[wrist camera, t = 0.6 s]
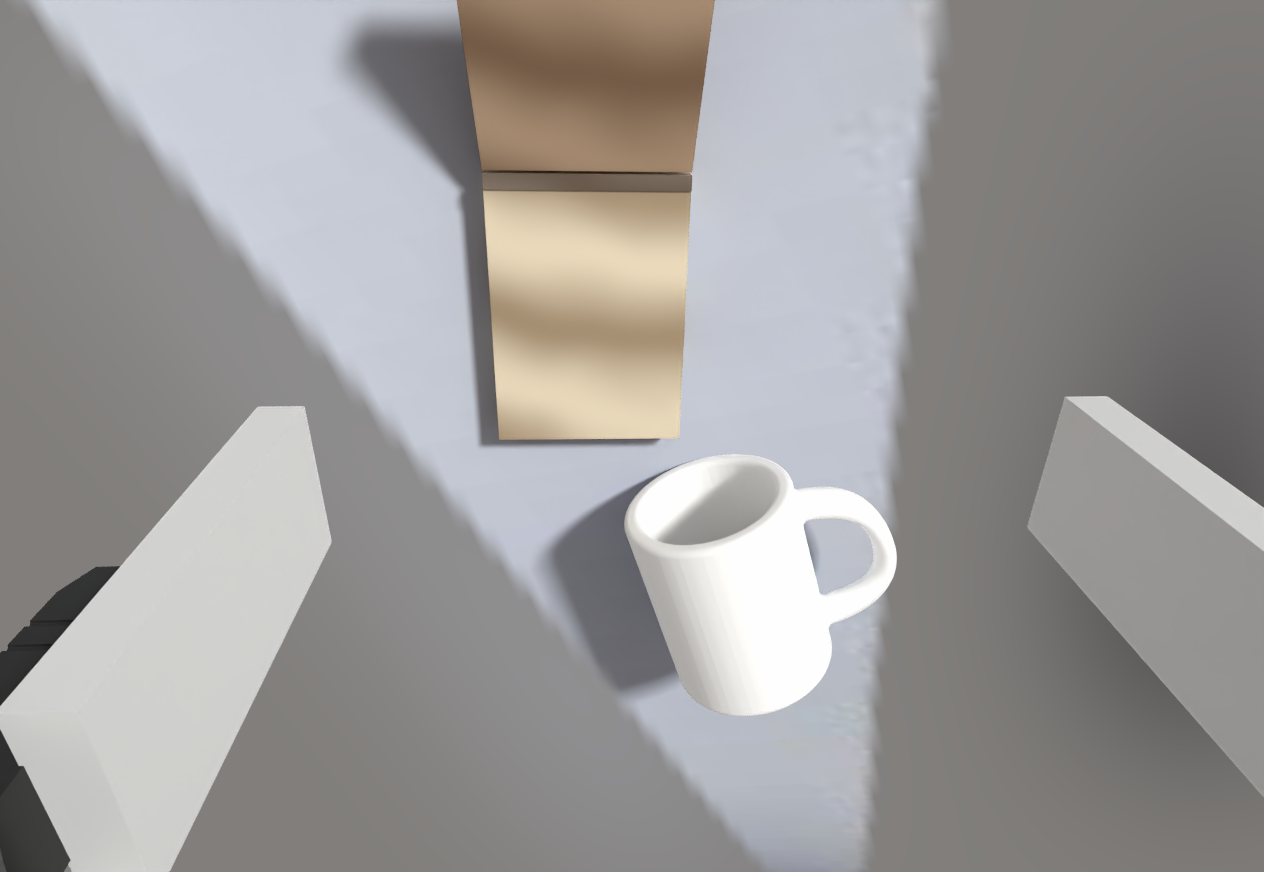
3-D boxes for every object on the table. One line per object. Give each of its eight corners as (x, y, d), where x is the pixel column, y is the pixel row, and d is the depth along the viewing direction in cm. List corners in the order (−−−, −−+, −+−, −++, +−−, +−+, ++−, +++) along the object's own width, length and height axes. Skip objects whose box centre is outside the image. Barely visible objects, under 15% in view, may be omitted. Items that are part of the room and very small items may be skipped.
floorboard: (485, 168, 33) (481, 173, 32) (687, 170, 33) (692, 175, 32) (502, 426, 38) (498, 440, 37) (676, 425, 39) (679, 439, 37)
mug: (672, 625, 45) (688, 736, 37) (619, 479, 40) (626, 574, 33) (880, 568, 44) (938, 671, 36) (850, 412, 39) (909, 494, 32)
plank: (444, -125, 24) (441, -106, 23) (723, -117, 24) (727, -98, 24) (483, 150, 32) (481, 170, 32) (689, 152, 33) (691, 172, 32)
